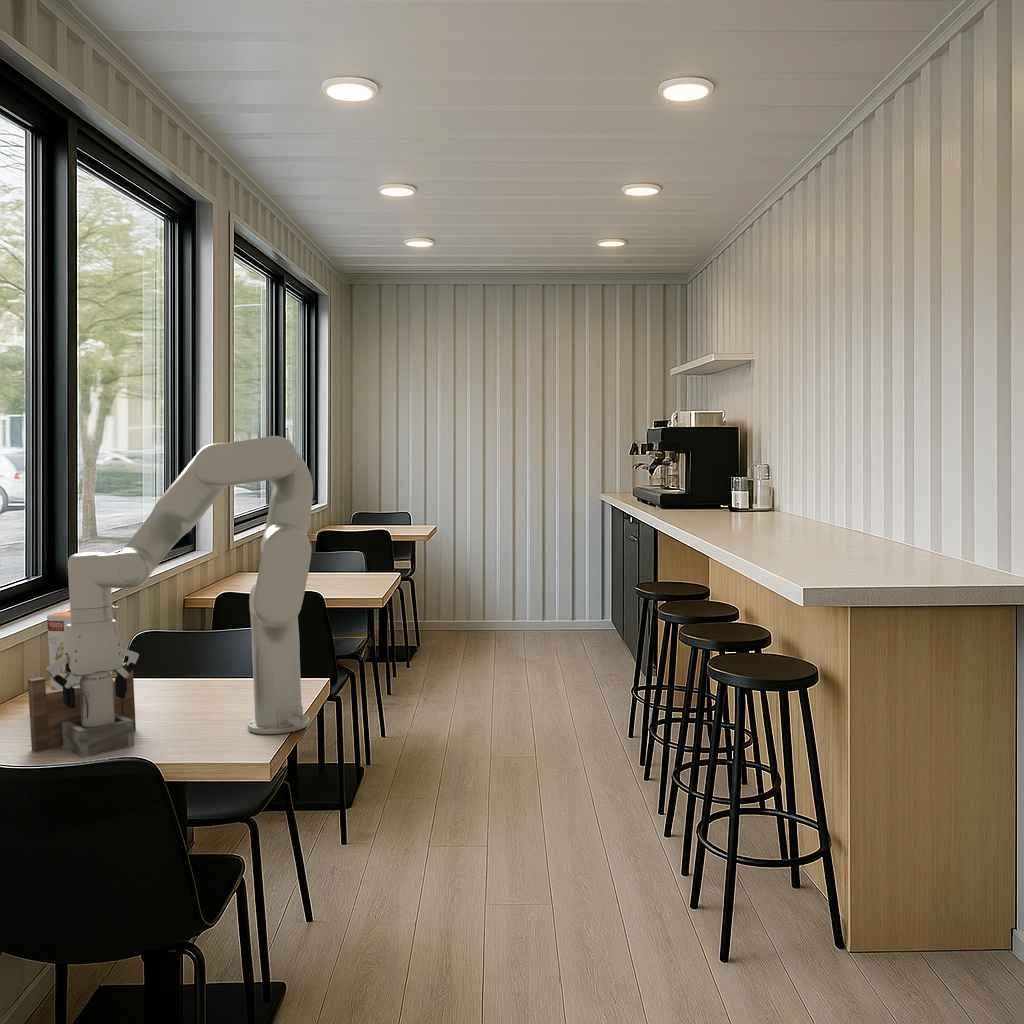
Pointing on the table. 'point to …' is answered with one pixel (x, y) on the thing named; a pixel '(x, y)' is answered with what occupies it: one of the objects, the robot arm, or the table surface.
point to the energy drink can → (97, 699)
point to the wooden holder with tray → (78, 721)
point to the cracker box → (59, 643)
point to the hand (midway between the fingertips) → (96, 702)
